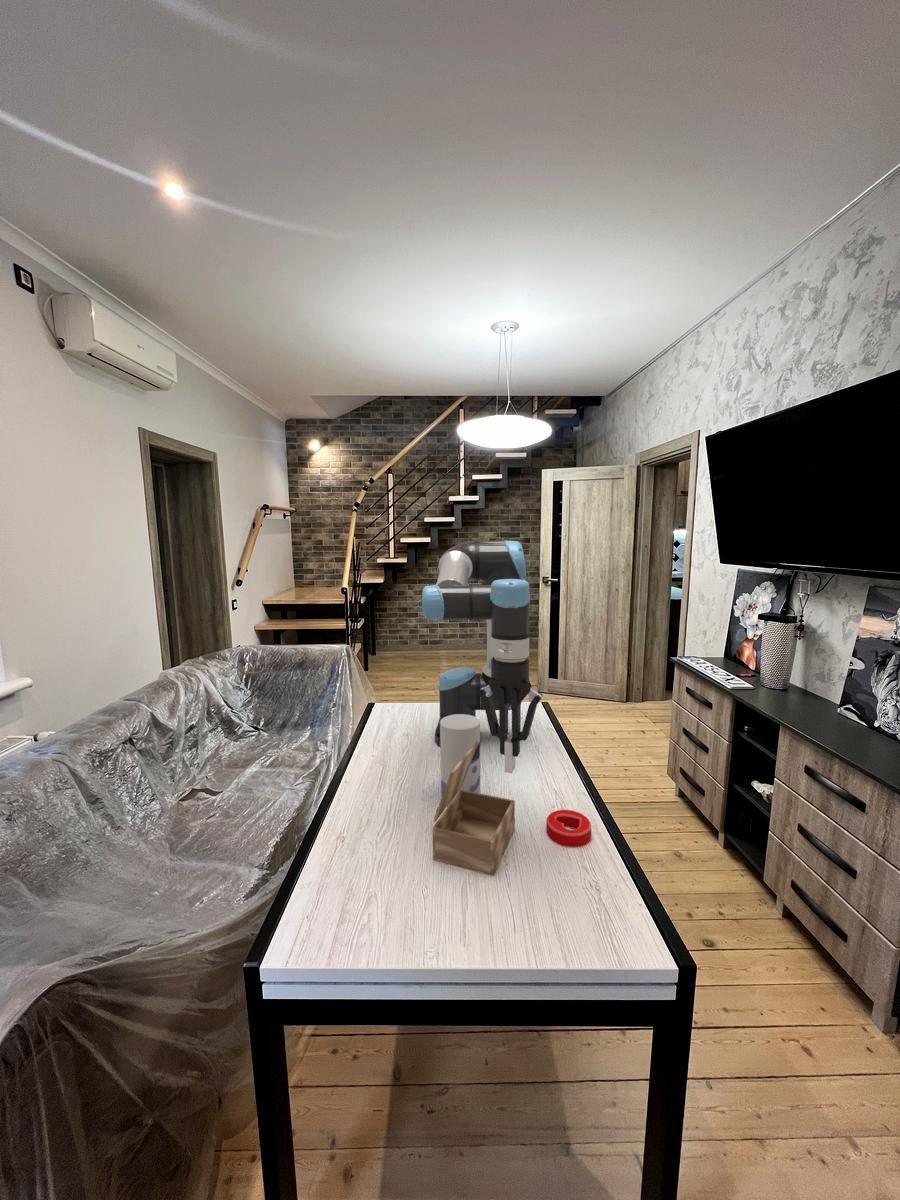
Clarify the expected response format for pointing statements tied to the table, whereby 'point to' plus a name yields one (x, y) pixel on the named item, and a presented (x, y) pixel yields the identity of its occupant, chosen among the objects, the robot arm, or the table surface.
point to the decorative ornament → (563, 835)
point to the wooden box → (474, 831)
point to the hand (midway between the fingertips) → (509, 769)
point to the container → (460, 749)
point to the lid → (455, 780)
